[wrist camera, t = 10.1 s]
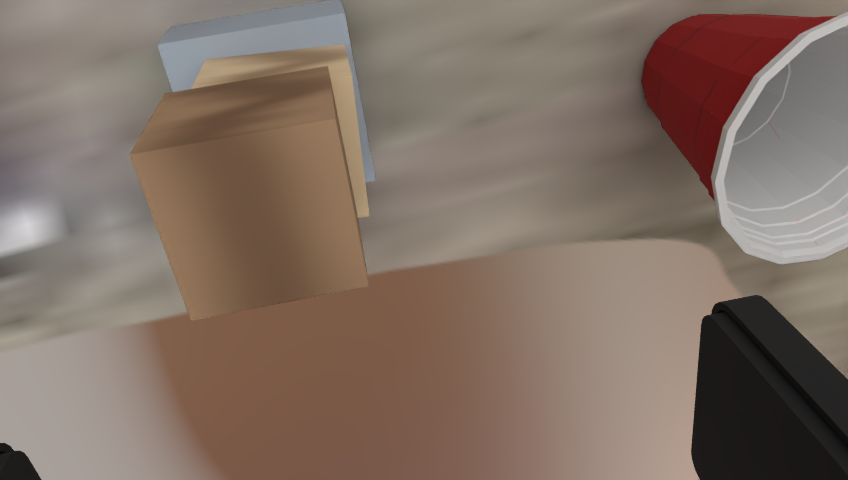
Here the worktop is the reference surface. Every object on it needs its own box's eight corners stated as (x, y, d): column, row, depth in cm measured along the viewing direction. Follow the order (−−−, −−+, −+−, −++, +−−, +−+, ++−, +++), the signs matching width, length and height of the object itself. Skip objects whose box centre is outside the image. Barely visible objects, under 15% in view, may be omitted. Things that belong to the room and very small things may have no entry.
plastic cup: (740, 174, 41) (889, 281, 30) (573, 149, 38) (674, 256, 28) (824, -16, 36) (1037, 35, 26) (640, -59, 33) (792, -22, 23)
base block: (340, -4, 33) (344, 12, 29) (368, 150, 37) (375, 180, 33) (172, 25, 32) (157, 44, 29) (219, 178, 36) (211, 211, 33)
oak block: (344, 44, 30) (351, 75, 26) (360, 169, 33) (369, 216, 29) (205, 59, 29) (188, 93, 25) (234, 185, 32) (224, 236, 28)
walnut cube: (328, 65, 25) (335, 118, 20) (356, 208, 28) (369, 286, 23) (164, 93, 25) (129, 154, 20) (211, 235, 28) (191, 320, 23)
